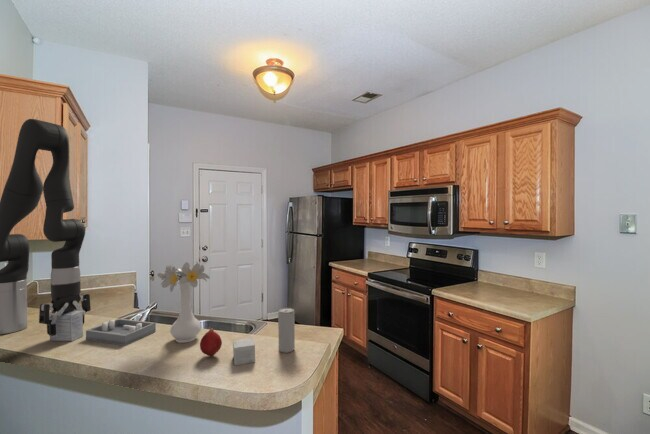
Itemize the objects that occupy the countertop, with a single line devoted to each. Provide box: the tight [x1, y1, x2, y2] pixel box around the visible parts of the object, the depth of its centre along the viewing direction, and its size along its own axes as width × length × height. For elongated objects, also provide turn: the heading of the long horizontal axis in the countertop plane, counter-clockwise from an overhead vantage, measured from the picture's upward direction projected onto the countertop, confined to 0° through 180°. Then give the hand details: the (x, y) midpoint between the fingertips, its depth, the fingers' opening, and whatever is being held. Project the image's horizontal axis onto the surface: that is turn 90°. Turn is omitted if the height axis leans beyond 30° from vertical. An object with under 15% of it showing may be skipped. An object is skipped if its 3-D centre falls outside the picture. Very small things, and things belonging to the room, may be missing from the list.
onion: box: [199, 328, 223, 358], centre depth 92 cm, size 6×6×8 cm
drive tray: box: [85, 318, 157, 346], centre depth 107 cm, size 16×12×4 cm
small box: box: [232, 337, 256, 366], centre depth 90 cm, size 6×6×5 cm
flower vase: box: [157, 261, 211, 344], centre depth 104 cm, size 13×18×25 cm
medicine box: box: [49, 311, 84, 342], centre depth 105 cm, size 8×4×9 cm, turn 84°
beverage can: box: [277, 307, 296, 354], centre depth 96 cm, size 5×5×12 cm
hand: (66, 330), depth 105 cm, fingers open, 8 cm apart
